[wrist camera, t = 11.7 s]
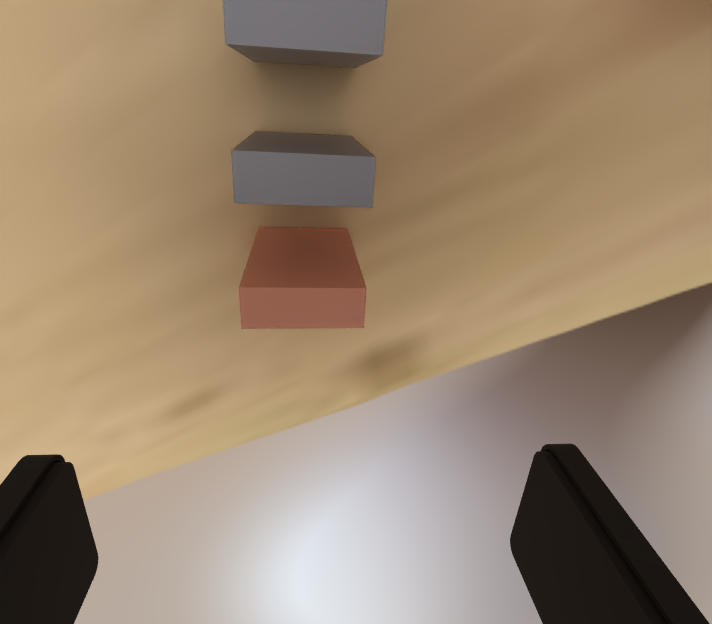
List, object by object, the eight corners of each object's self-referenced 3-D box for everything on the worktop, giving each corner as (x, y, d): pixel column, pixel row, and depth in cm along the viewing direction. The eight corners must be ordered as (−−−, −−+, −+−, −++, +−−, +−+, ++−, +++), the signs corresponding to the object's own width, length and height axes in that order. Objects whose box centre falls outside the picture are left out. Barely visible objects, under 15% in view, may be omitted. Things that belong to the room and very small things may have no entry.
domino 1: (251, 17, 22) (221, -26, 14) (357, 26, 22) (387, -12, 14) (253, 60, 22) (225, 44, 14) (355, 67, 23) (383, 55, 15)
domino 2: (255, 131, 24) (231, 150, 16) (351, 136, 24) (375, 157, 16) (257, 167, 25) (234, 203, 16) (350, 171, 25) (372, 207, 17)
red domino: (258, 226, 26) (239, 287, 18) (347, 228, 27) (366, 288, 18) (260, 257, 27) (241, 328, 19) (345, 258, 27) (363, 328, 19)
